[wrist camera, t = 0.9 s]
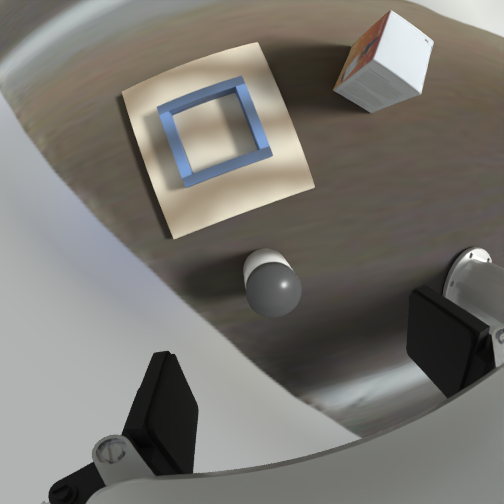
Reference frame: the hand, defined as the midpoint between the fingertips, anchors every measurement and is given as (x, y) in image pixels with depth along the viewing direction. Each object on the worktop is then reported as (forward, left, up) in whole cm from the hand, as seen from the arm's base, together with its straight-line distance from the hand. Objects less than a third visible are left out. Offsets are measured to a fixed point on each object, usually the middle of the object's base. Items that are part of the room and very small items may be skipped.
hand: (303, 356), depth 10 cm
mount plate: (+12, 0, -22) cm, 25 cm away
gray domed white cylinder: (-4, 0, -22) cm, 22 cm away
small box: (+14, -19, -22) cm, 32 cm away
